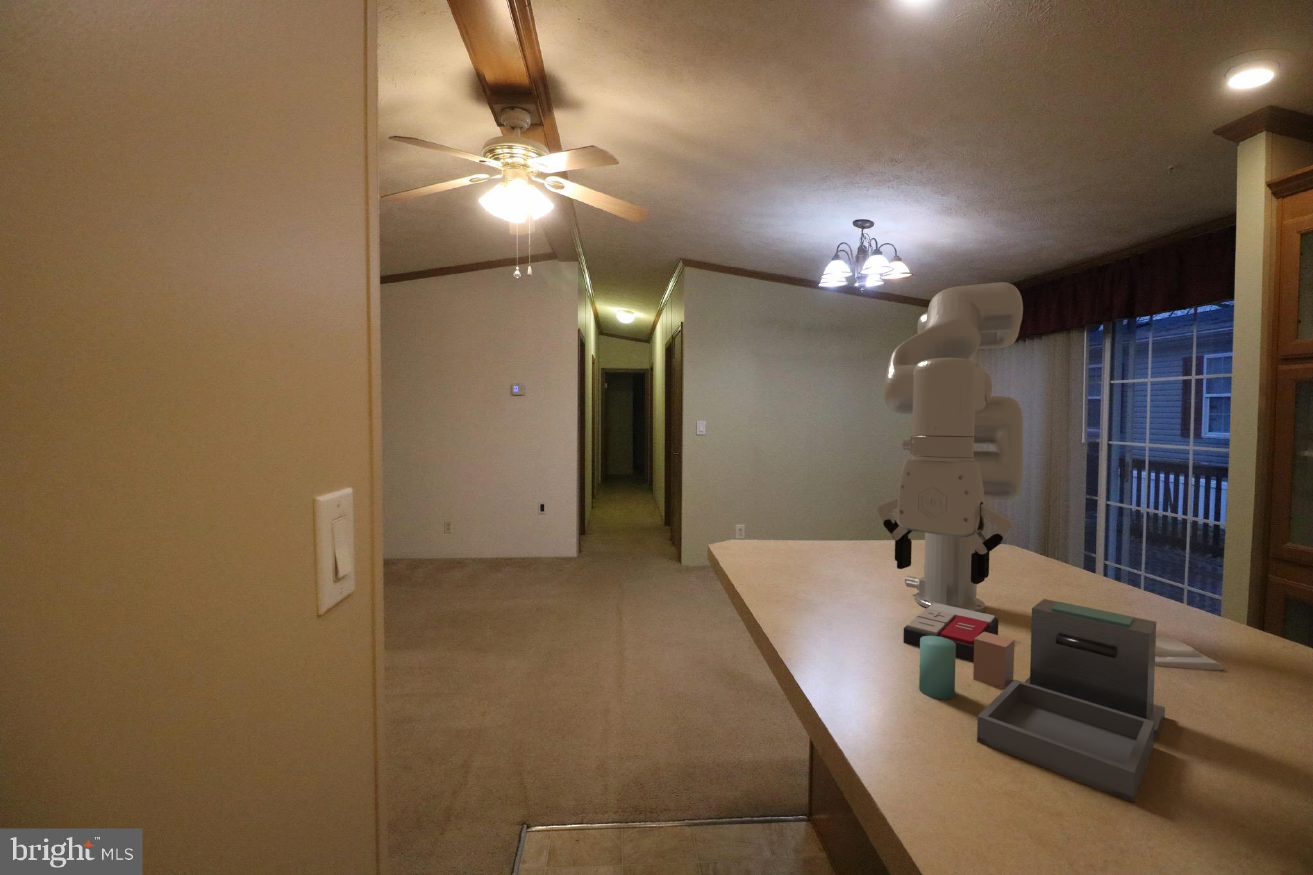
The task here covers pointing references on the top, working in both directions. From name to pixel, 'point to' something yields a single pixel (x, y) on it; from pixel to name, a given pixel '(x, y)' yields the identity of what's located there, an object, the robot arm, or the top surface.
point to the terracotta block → (993, 659)
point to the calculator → (951, 627)
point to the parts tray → (1069, 737)
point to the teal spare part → (937, 667)
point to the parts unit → (1095, 657)
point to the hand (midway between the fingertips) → (939, 574)
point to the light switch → (1181, 655)
